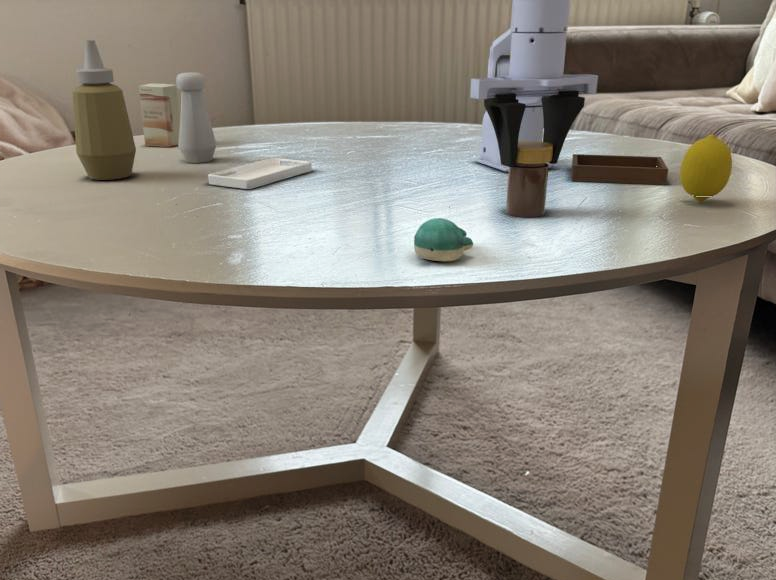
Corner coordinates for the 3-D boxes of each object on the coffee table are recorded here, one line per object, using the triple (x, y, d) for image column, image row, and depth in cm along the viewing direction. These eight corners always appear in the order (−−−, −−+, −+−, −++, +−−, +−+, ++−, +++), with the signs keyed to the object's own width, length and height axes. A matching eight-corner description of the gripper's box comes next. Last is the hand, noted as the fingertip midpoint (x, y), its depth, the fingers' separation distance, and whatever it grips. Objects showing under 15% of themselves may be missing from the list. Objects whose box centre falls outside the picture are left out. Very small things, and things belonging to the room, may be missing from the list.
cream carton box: (144, 146, 133) (136, 85, 128) (157, 142, 136) (150, 83, 132) (170, 147, 131) (163, 86, 127) (183, 143, 135) (176, 83, 131)
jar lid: (534, 165, 82) (535, 149, 81) (498, 160, 85) (499, 144, 85) (560, 159, 85) (561, 144, 84) (524, 154, 88) (525, 139, 88)
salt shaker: (221, 157, 122) (214, 71, 116) (211, 164, 117) (203, 74, 111) (186, 157, 123) (177, 71, 117) (174, 163, 117) (164, 74, 112)
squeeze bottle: (122, 183, 104) (102, 41, 96) (69, 181, 105) (45, 41, 98) (149, 172, 111) (132, 39, 104) (99, 170, 113) (78, 39, 105)
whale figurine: (401, 261, 71) (401, 221, 70) (427, 241, 77) (428, 203, 76) (460, 268, 69) (462, 227, 67) (482, 247, 75) (485, 209, 74)
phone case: (249, 190, 100) (313, 170, 111) (248, 179, 99) (313, 161, 111) (206, 184, 103) (273, 166, 115) (205, 174, 103) (273, 157, 114)
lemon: (694, 209, 88) (707, 139, 85) (665, 199, 93) (676, 132, 90) (734, 206, 90) (748, 136, 86) (704, 196, 95) (716, 130, 91)
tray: (571, 181, 104) (573, 165, 103) (571, 168, 112) (573, 154, 111) (665, 185, 101) (668, 169, 100) (658, 171, 109) (661, 156, 108)
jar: (497, 211, 88) (501, 151, 85) (523, 206, 91) (528, 147, 88) (526, 219, 85) (531, 156, 82) (552, 213, 87) (558, 152, 84)
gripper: (496, 34, 74) (487, 175, 80) (621, 32, 78) (604, 165, 84) (464, 32, 80) (458, 163, 86) (581, 30, 84) (568, 155, 90)
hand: (528, 163), depth 85 cm, fingers closed on jar lid, 5 cm apart
